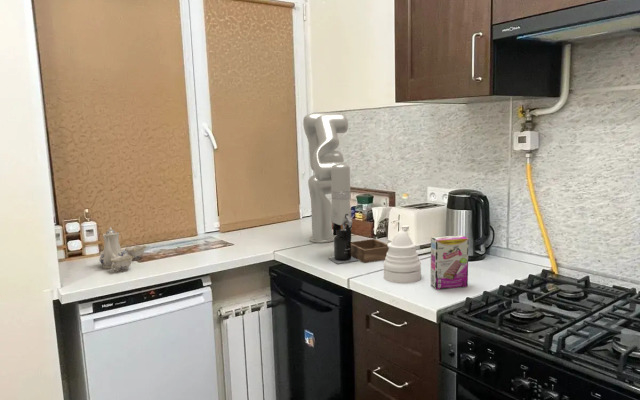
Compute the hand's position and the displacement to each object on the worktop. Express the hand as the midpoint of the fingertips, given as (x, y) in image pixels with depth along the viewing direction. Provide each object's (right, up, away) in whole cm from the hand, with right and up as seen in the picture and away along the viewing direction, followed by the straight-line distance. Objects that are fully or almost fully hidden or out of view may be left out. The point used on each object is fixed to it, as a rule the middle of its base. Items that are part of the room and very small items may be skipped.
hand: (342, 237), depth 195 cm
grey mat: (+1, -9, +1) cm, 9 cm away
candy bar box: (+33, -13, -36) cm, 51 cm away
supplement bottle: (0, -9, +1) cm, 9 cm away
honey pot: (+20, -12, -25) cm, 34 cm away
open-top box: (+12, -8, +5) cm, 15 cm away
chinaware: (-91, -12, +7) cm, 93 cm away
